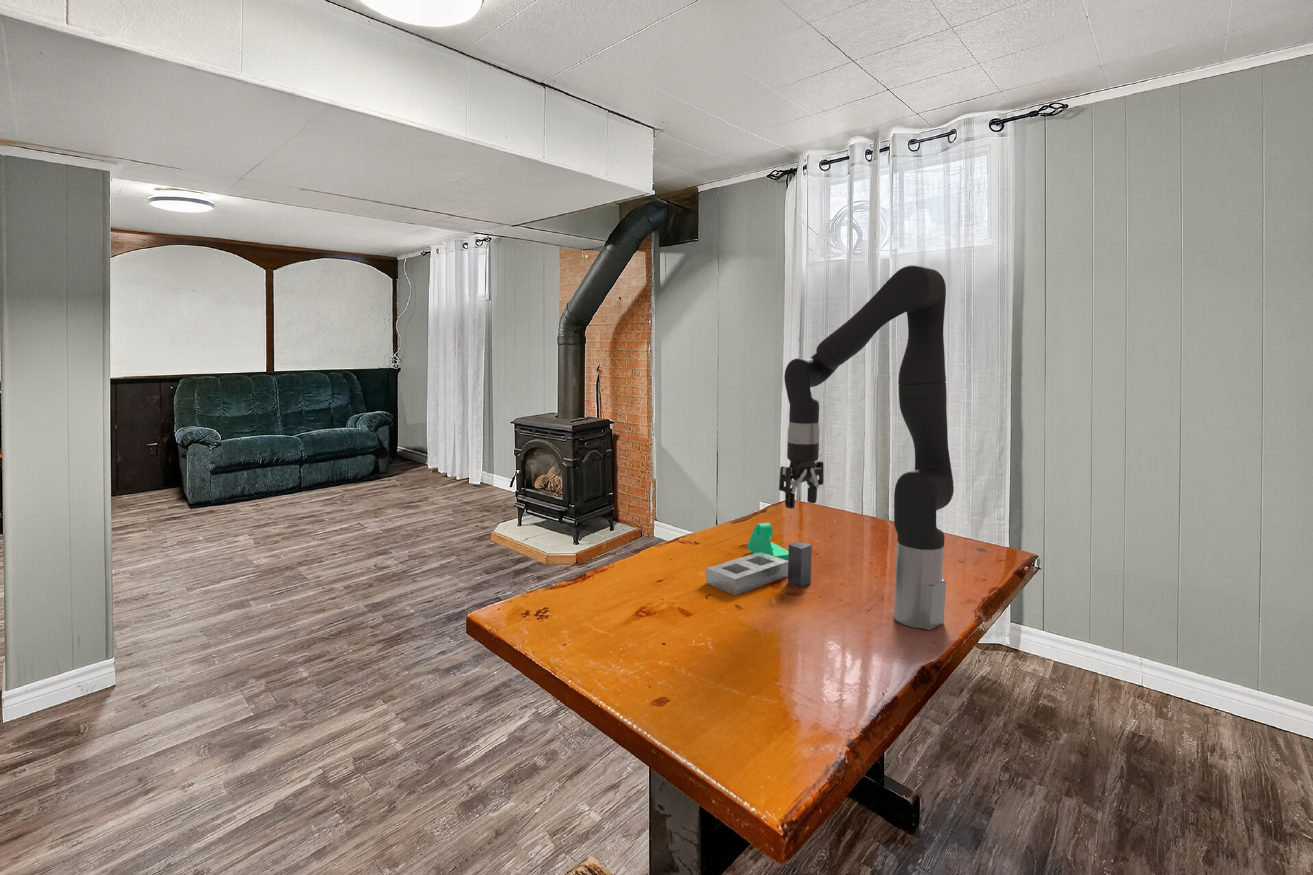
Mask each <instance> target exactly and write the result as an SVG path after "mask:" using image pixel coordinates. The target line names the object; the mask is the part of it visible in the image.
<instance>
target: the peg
mask: <svg viewBox="0 0 1313 875" xmlns="http://www.w3.org/2000/svg"><path fill="white" fill-rule="evenodd" d="M812 548H813V546H812V544H809V543H805V542H801V541H797V542H793V543H790V544H788V551H789V554H788V560H787V561H788V576H787V584H790V585H792V586H795V587H798V588H800V589H801V588H803V587H804V588H805V587H806V586H808V585H811V584H812V582H811V581H812Z"/></svg>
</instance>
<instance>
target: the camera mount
mask: <svg viewBox="0 0 1313 875" xmlns="http://www.w3.org/2000/svg"><path fill="white" fill-rule="evenodd" d="M773 533H774V532H773V527H772V524H771V523H770V522H763V523H756V524H755V526H754V527H753V531H752V533H751V535H750V538H749V541H748V542H747V551H749V552H751V553H752V554H754V553H758V552H762V553H765V554H768V555H771V556H774V557H777V558H780V559H784V560H787V561H788V554H789V550H787V549H786V548H783V546H780V545H778V544H775V543H774V542H772V541H771V538H772V537H773Z"/></svg>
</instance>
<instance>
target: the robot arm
mask: <svg viewBox="0 0 1313 875" xmlns="http://www.w3.org/2000/svg"><path fill="white" fill-rule="evenodd" d="M946 298H947V286H946V282H945V279H944V277H943V275H942V274H941V273H940V272H939V271H938V270H937V269H934V268H932V267H926V266H923V265H916V264H911V265H910V264H909V265H906V266H904V267H901V268H900V269H898V270H897V271H895V273H894V274H893V275H891V277H889V279H888V280H887V281H886V282H885V283H884V284H883V285H882V286H881V287H880V289H879V290H877V292H876V293H875V294H874V295H873V296H872V297H871V298H870V299H869V300H868V301H867V302H866V303H865V304H864V305H863V306H862V307H861V308H860V309H859V310H858V311H857V312H856V313H854V315H853V316H852V317H850V318H849V319H848V320H847V321H846V322H844V323H843V324H842V325H841V326H840V327H838V328H836V330H834V331H833V332H832V333H830V334H829V335H828V336H827V337H825V338H824V339H823V340H822V341H821V342H820V343H818V345H817V346H816V349H815V353H814V354H813V355H812V356H810V357H802V358H801V357H798V358H794V359H792V360H790V361H789V363H788V364H787V365H786V368H785V370H784V385H785V390H786V394H787V400H788V403H789V413H788V414H789V415H788V416H789V418H788V419H789V420H788V427H787V442H786V443H787V444H786V448H787V449H786V450H787V451H786V452H787V453H786V457H787V460H789V466H783V465H782V466H780V469H779V470H780V471H779V484H778V490H779V491H781V492H784V496H785V497H784V505H785V507H786V508H787V509H790V510H792V509H795V504H796V502H795V500H796V499H795V498H796V494H795V493H796V490H797V489H798V487H800V486H801V483H805V482H806V484H807V486H808V487H807V503H809V504H816V503H817V499H818V489H819V487H820V485H821V486H823V485H824V481H825V480H824V476H825V475H824V471H825V470H824V468H825V467H824V461H820V460H819V456H820V454H819V452H820V447H819V446H820V423H819V422H820V421H819V419H820V403H819V400H818V399H816V398H814V397H813V395H812V390H811V388H814V387H817V386H819V385H821V384H823V383H824V382H825V381H827V380H828V378H830V377H831V376H832V375H833V374H834V373H835V371H836V370H837V369H838V367H840V366H841V365H843V364H845V362H847V361H848V360H850V359H851V358H853V357H854V356H856V355H857V354H858V353H859V352H860V351H862V349H863V348H864V347H866V345H867V344H868V343H869V342H870V341H871V339H872V338H873V336H874V335H875V334H876V333H877V332H878V331H879V330H880V329H881V328H882V327H883V326H885V325H886V324H887V323H889V322H890V321H892V320H893V319H895V318H897V317H899V316H901V315H902V314H904V313H906V317H907V329H908V330H907V331H908V332H907V333H908V335H907V344H906V347H905V351H904V354H903V358H902V359H901V364H900V368H899V372H898V384H897V385H898V401H899V402H898V404H899V408H900V410H899V411H900V413H901V416H902V419H903V421H904V423H905V425H906V427H907V430H908V431H909V434H910V436H911V439H912V442H913V445H914V446H913V448H914V470H910V471H907V472H905V473H903V474H901V475H900V476H899V478H897V481H896V484H895V487H894V495H893V519H894V520H893V524H894V525H893V526H894V529H895V531H896V535H897V539H896V540H897V541H896V559H895V560H896V561H895V578H894V579H895V584H894V600H893V602H894V604H893V619H894V620H895V621H896V622H897V623H900V624H901V625H904V626H907V627H909V628H915V629H922V630H923V629H924V630H928V631H931V630H933V629H935V628H937V627H939V626H940V625H942V624H944V622H945V621H944V620H945V606H946V603H945V602H946V592H947V591H946V589H947V581H946V580H945V579H943V571H944V570H943V567H944V550H945V534H944V532H943V531H942V530H941V529H939V528H938V527H937V511H939V510H941V509H943V508H945V507H947V506H948V505H949V504H950V502H951V500H952V499H953V496H954V490H955V487H954V485H955V484H954V477H953V471H952V464H951V458H950V451H949V441H948V440H949V438H948V437H949V436H948V435H949V434H948V414H947V413H948V412H947V411H948V410H947V406H948V405H947V403H948V402H947V400H948V399H947V396H948V395H947V393H948V392H947V377H946V376H947V375H946V360H945V359H946V356H945V355H946V354H945V342H944V324H945V323H944V322H945V311H946Z"/></svg>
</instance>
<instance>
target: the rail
mask: <svg viewBox="0 0 1313 875" xmlns="http://www.w3.org/2000/svg"><path fill="white" fill-rule="evenodd" d="M705 569H706V570H705V584H706V583H707V584H706V585H709V586H711V585H712V587H714V588H716V587H717V588H716V589H719V590H721V591H724V592H726V593H728V594H731V595H733V596H737V595H739V594H742V593H745V592H748V591H751V590H753V589H756V588H759V587H762V586H764V585H767V584H771V583H772V582H776V581H778V580H781V579H785V578H788V560H784V559H780V558H777V557H774V556H771V555H768V554H765V553H762V552H758V553H752V554H748V555H745V556H742V557H739V558H736V559H732V560H729V561H726V562H722V563H719V564H715V565H712V566H708V567H706V568H705Z"/></svg>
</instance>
